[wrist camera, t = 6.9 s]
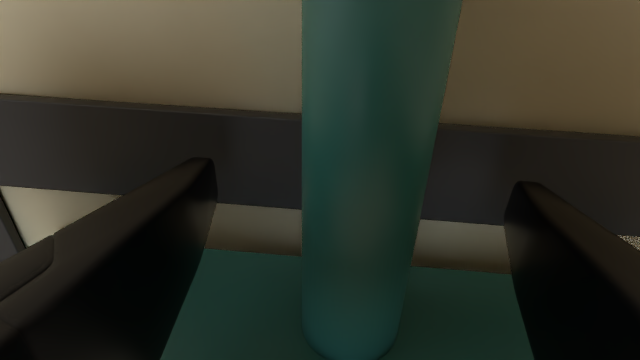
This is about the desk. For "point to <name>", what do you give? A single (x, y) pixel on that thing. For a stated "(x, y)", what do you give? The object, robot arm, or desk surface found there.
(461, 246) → the desk surface
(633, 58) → the desk surface
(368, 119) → the dustpan
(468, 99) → the desk surface
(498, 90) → the desk surface
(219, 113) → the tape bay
